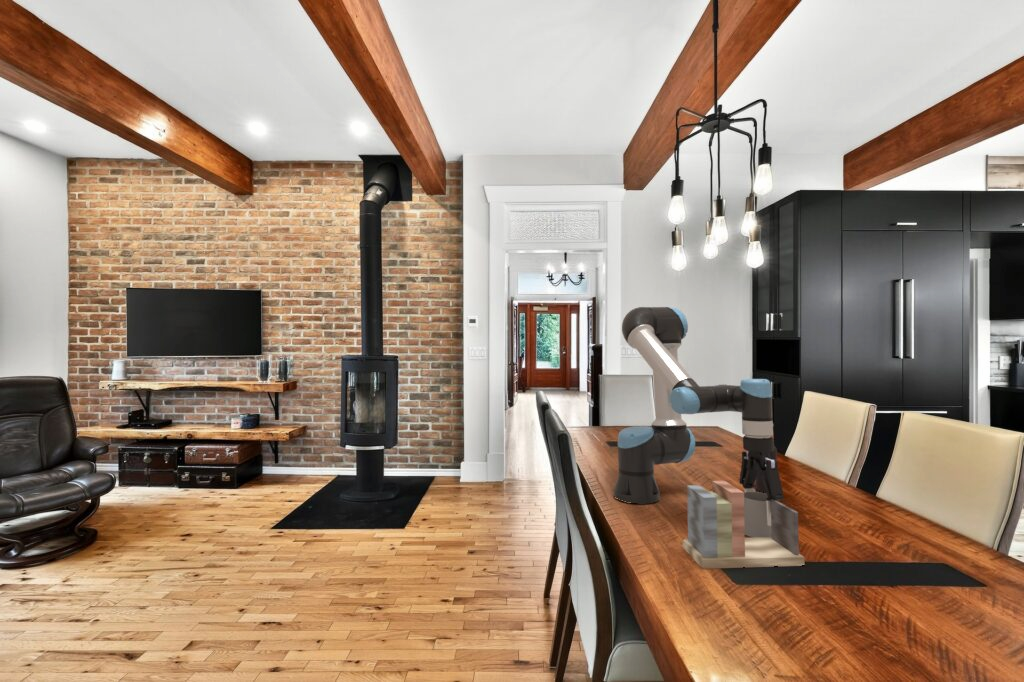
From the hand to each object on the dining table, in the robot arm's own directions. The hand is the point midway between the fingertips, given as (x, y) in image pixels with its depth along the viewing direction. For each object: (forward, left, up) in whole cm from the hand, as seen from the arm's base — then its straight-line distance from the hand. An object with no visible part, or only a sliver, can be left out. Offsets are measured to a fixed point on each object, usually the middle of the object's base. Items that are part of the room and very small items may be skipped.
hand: (761, 518), depth 133 cm
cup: (-1, 0, -5) cm, 5 cm away
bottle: (-38, +23, -5) cm, 45 cm away
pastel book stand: (+13, -12, -4) cm, 18 cm away
